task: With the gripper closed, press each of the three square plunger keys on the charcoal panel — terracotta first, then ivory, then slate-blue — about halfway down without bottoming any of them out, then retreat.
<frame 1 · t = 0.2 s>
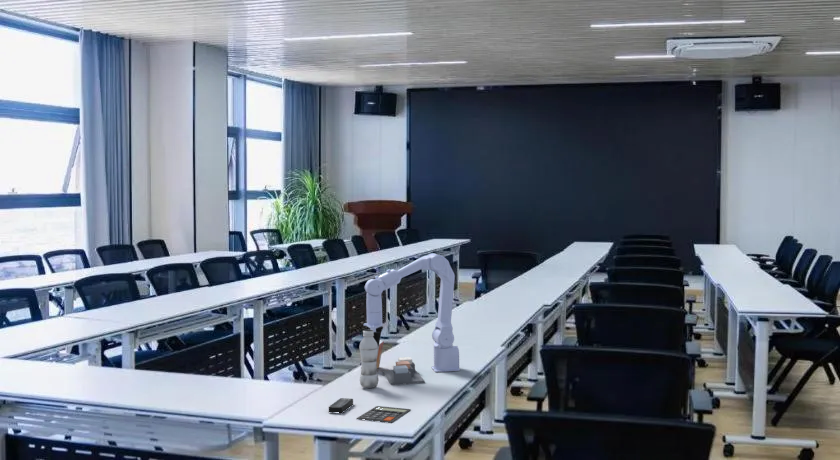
hand: (375, 348, 311), 10 cm above the table, fingers open, 7 cm apart
terracotta key: (403, 366, 305), point 4 cm above the table, slide at 0.0 cm
slate key: (400, 370, 298), point 4 cm above the table, slide at 0.0 cm
small box: (370, 368, 320), on the table
ivory key: (405, 361, 312), point 4 cm above the table, slide at 0.0 cm
panel: (403, 377, 305), on the table
calculator: (384, 416, 257), on the table
multiport hub: (341, 410, 264), on the table
plastic bottle: (369, 388, 291), on the table
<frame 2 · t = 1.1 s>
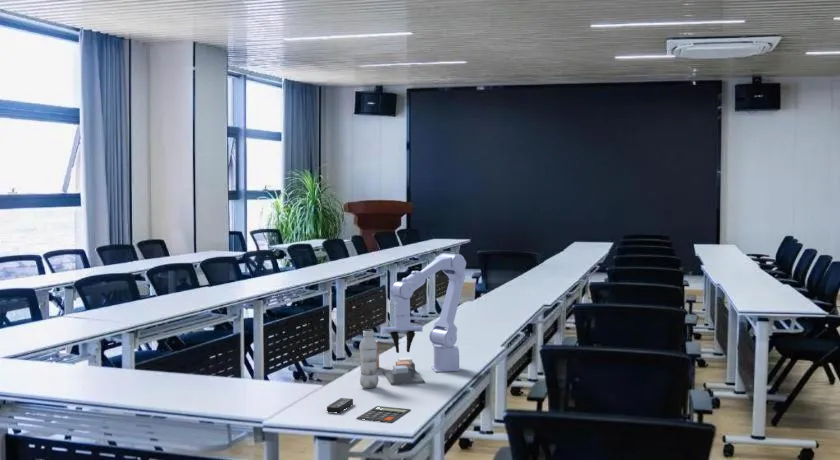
hand: (402, 352, 305), 9 cm above the table, fingers open, 3 cm apart
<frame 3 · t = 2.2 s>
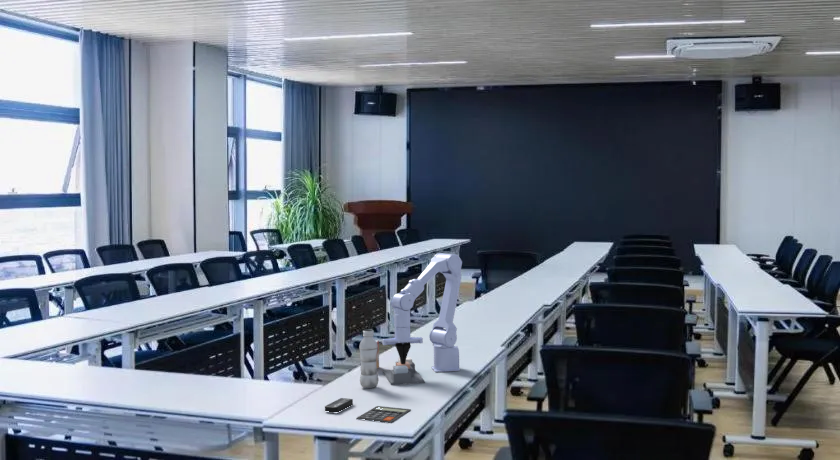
hand: (402, 363, 305), 5 cm above the table, fingers closed, pressing on terracotta key
terracotta key: (403, 366, 305), point 4 cm above the table, slide at 0.3 cm, touching gripper
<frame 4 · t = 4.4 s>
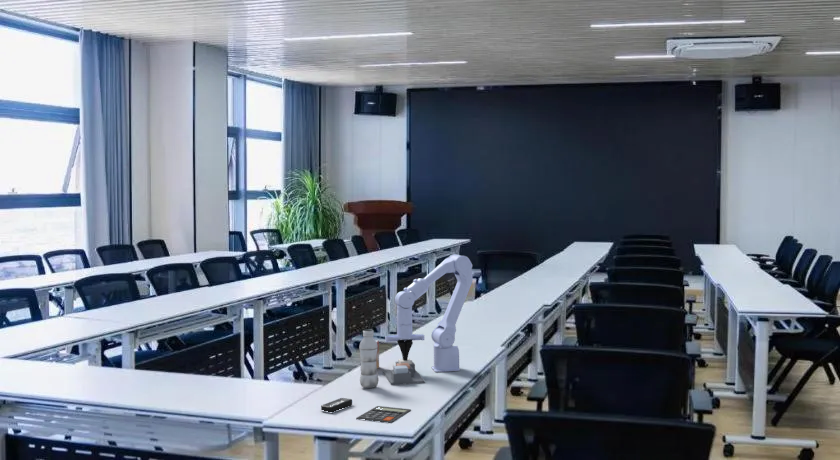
hand: (405, 360, 312), 5 cm above the table, fingers closed, pressing on ivory key
terracotta key: (403, 368, 305), point 4 cm above the table, slide at 0.7 cm
ivory key: (405, 363, 312), point 4 cm above the table, slide at 0.6 cm, touching gripper
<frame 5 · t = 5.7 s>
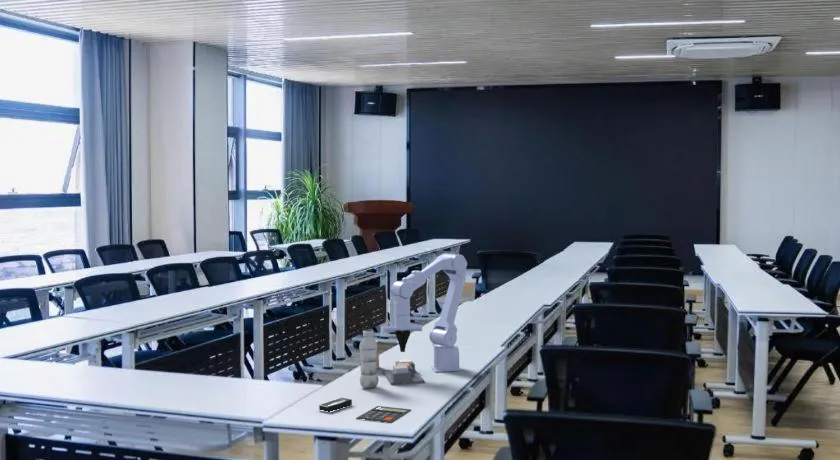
hand: (402, 351, 305), 10 cm above the table, fingers closed
ivory key: (405, 363, 312), point 4 cm above the table, slide at 0.7 cm
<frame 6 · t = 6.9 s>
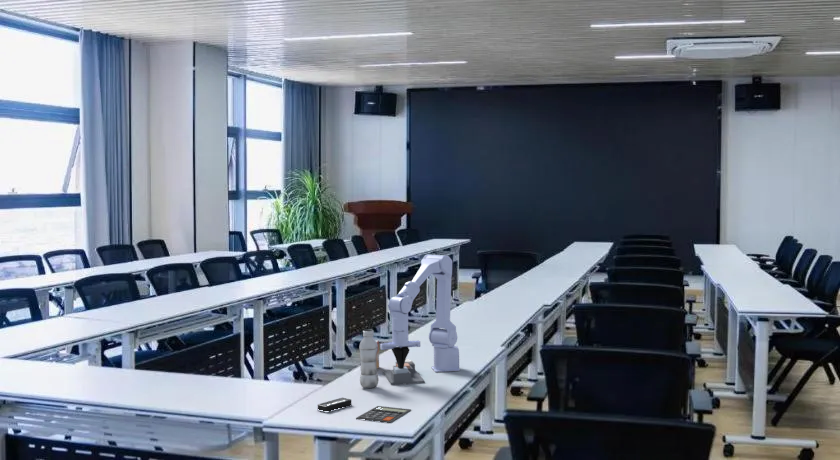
hand: (400, 368, 298), 5 cm above the table, fingers closed, pressing on slate key
slate key: (400, 371, 298), point 4 cm above the table, slide at 0.4 cm, touching gripper
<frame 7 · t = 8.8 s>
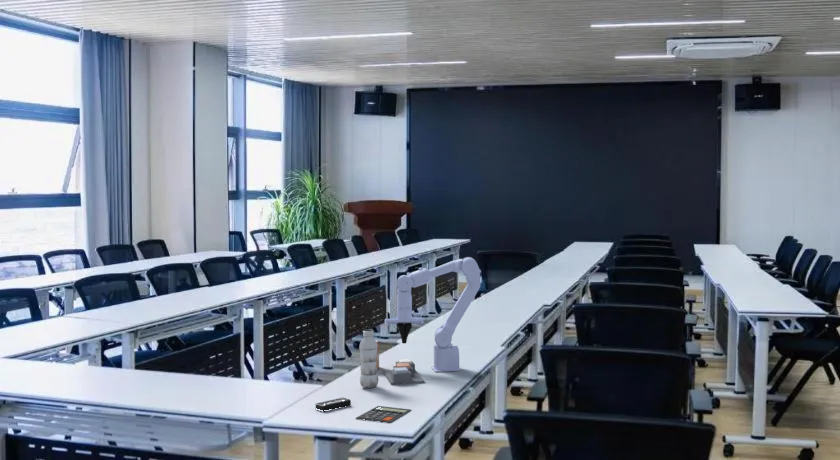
hand: (404, 342, 317), 10 cm above the table, fingers closed
slate key: (400, 372, 298), point 4 cm above the table, slide at 0.7 cm
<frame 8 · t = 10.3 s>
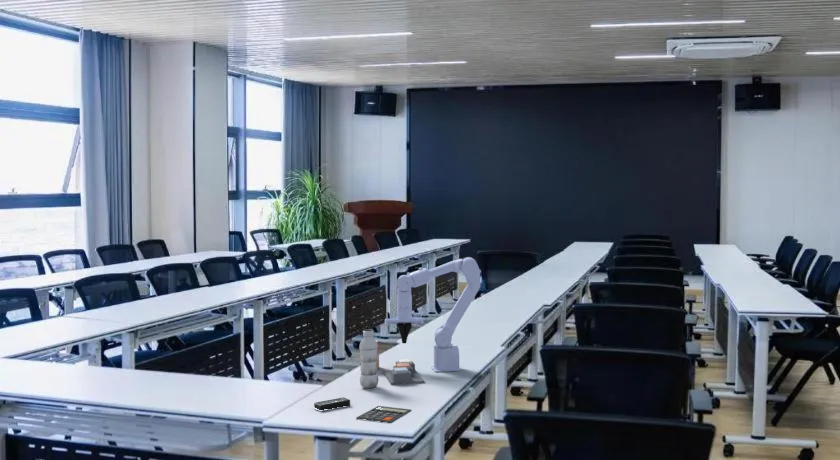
hand: (404, 342, 317), 10 cm above the table, fingers closed
at the end: terracotta key slide at 0.7 cm; ivory key slide at 0.7 cm; slate key slide at 0.7 cm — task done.
